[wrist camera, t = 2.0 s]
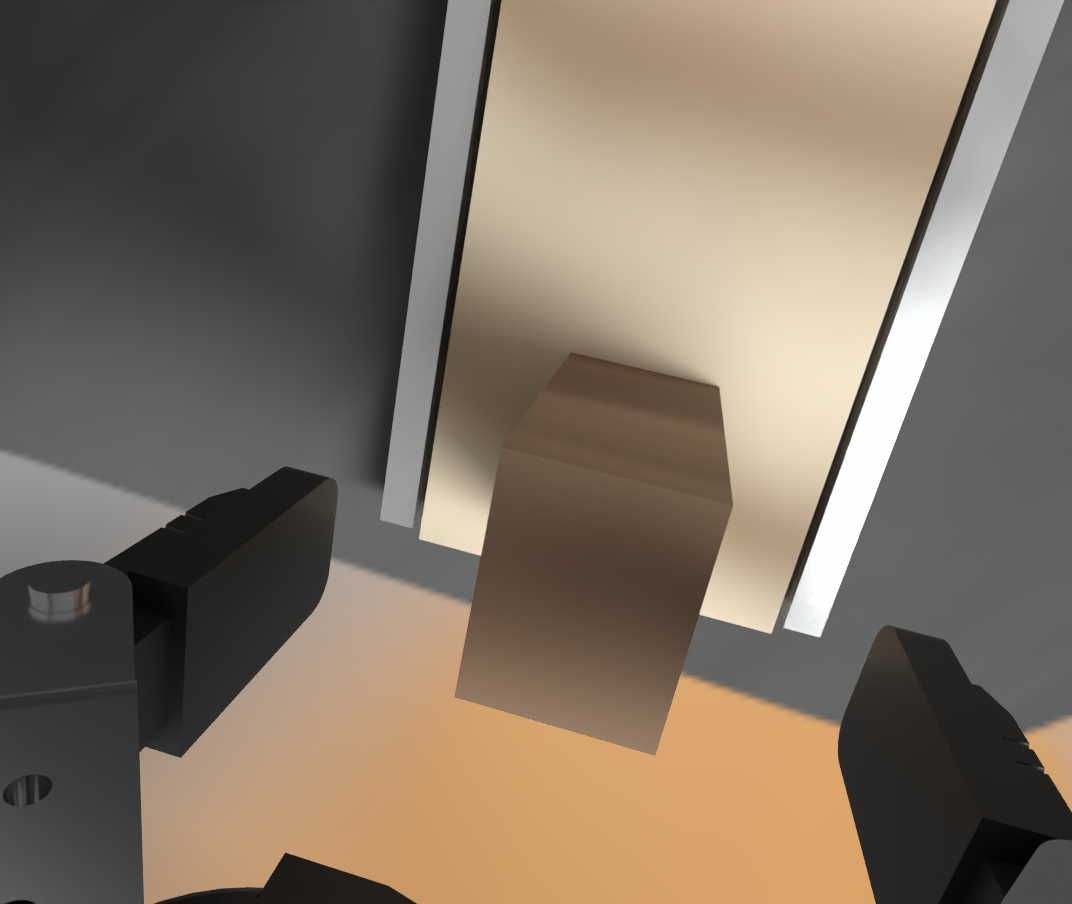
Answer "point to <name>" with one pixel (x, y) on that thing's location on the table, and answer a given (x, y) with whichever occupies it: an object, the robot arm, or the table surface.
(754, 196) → the birch strip
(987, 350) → the table surface
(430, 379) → the guide rails
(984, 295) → the table surface
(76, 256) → the table surface
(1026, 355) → the table surface
